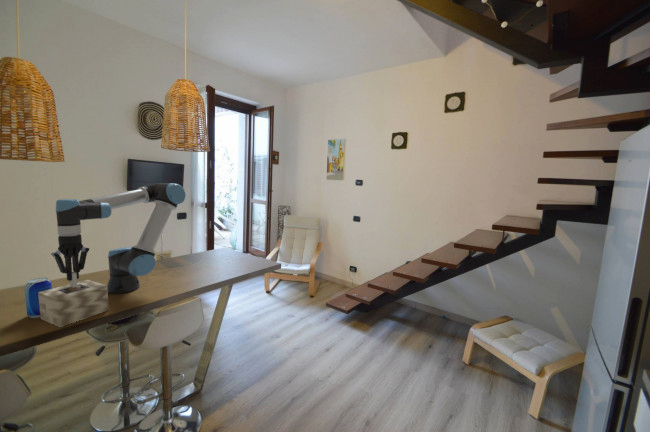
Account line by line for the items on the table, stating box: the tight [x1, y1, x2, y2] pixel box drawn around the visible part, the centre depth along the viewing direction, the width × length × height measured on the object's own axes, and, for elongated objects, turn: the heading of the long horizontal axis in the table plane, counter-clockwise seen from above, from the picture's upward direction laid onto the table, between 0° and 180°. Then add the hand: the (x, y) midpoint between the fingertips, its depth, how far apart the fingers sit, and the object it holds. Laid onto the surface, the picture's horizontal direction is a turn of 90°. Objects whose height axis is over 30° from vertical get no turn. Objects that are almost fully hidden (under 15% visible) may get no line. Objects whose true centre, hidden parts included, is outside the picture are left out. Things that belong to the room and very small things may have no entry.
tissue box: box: [38, 279, 110, 328], centre depth 127 cm, size 18×16×12 cm
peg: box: [69, 286, 81, 292], centre depth 126 cm, size 4×4×11 cm
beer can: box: [23, 277, 53, 319], centre depth 125 cm, size 8×8×16 cm
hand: (73, 286), depth 126 cm, fingers closed
